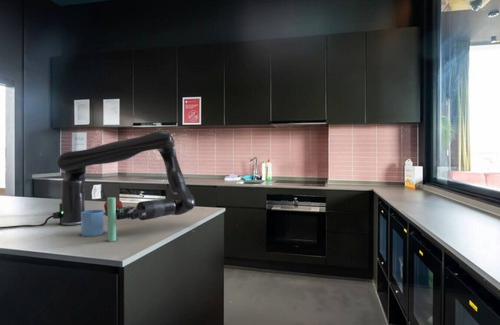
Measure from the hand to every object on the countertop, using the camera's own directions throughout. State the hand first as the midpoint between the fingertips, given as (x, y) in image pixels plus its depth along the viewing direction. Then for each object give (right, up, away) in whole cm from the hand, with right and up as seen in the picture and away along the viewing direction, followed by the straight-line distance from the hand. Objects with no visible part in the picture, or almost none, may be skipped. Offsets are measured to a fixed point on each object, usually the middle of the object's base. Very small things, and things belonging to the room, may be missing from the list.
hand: (111, 215), depth 115 cm
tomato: (-22, -8, +52) cm, 57 cm away
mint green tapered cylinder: (0, -9, 0) cm, 10 cm away
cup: (-12, -9, +10) cm, 18 cm away
